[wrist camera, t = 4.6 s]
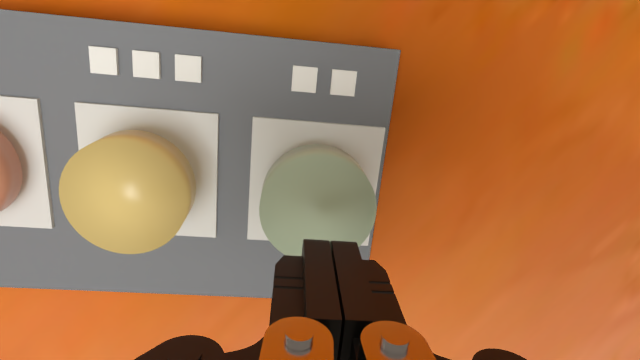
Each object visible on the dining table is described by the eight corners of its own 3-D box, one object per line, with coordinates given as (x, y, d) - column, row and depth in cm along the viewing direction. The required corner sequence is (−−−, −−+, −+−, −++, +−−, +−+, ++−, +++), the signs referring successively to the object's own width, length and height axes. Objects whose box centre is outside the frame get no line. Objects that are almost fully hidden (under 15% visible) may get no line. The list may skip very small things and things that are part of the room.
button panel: (387, 48, 19) (401, 50, 17) (355, 274, 23) (363, 304, 20) (-83, 1, 17) (-148, -6, 15) (-34, 256, 21) (-78, 286, 18)
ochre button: (196, 134, 16) (186, 144, 14) (196, 237, 17) (187, 257, 16) (75, 125, 15) (52, 134, 14) (85, 232, 17) (64, 251, 15)
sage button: (375, 148, 17) (384, 159, 15) (361, 246, 18) (368, 266, 16) (264, 139, 16) (262, 150, 15) (259, 241, 17) (256, 260, 16)
